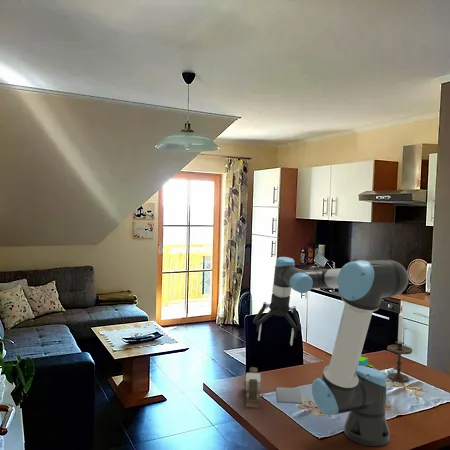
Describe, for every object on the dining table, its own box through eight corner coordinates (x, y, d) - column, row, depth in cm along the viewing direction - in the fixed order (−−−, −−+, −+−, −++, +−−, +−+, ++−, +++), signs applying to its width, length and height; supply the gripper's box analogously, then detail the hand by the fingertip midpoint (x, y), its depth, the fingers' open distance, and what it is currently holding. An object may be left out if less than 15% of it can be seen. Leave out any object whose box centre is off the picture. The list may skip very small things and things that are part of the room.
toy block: (375, 376, 208) (376, 355, 207) (363, 383, 198) (364, 362, 198) (355, 370, 215) (356, 350, 214) (342, 377, 205) (343, 356, 205)
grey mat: (302, 403, 176) (302, 402, 176) (277, 402, 177) (277, 401, 177) (299, 389, 190) (299, 388, 190) (276, 388, 191) (276, 387, 191)
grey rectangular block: (260, 391, 180) (260, 381, 179) (245, 390, 180) (245, 380, 180) (260, 382, 188) (260, 373, 188) (246, 381, 189) (246, 372, 189)
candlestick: (411, 384, 198) (414, 308, 197) (386, 380, 202) (389, 305, 201) (410, 376, 208) (413, 303, 207) (386, 372, 212) (389, 301, 211)
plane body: (258, 407, 171) (259, 382, 171) (246, 406, 172) (246, 381, 171) (258, 381, 197) (259, 359, 197) (247, 381, 197) (248, 359, 197)
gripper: (311, 295, 183) (304, 342, 187) (251, 287, 185) (246, 333, 190) (312, 301, 175) (305, 350, 180) (250, 293, 178) (244, 341, 182)
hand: (275, 341), depth 185 cm, fingers open, 13 cm apart
